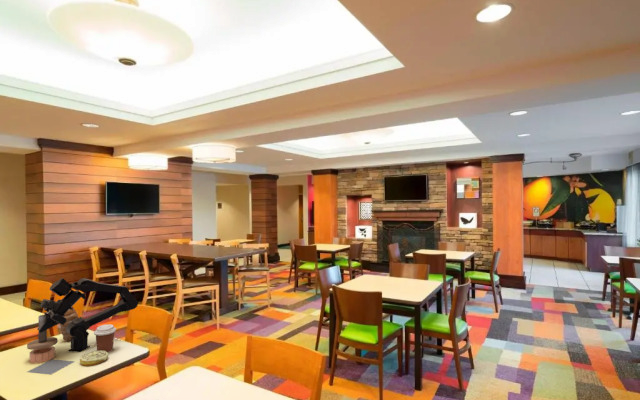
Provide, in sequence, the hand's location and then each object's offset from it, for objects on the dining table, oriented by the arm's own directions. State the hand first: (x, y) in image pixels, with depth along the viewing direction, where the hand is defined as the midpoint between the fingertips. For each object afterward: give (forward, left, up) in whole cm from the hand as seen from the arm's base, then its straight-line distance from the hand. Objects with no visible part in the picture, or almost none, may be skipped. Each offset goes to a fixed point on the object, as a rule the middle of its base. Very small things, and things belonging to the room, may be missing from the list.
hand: (38, 331), depth 161 cm
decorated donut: (-26, -3, -14) cm, 29 cm away
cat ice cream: (+5, -21, -13) cm, 26 cm away
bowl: (-1, -1, -13) cm, 13 cm away
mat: (-12, +5, -13) cm, 18 cm away
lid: (-1, -1, -7) cm, 7 cm away
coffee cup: (-23, -13, -13) cm, 30 cm away
